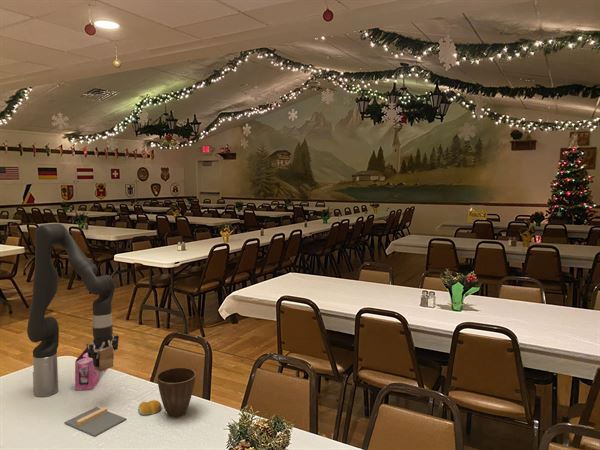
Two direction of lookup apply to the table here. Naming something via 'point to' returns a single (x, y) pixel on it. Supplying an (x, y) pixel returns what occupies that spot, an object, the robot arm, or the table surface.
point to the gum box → (86, 372)
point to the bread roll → (149, 407)
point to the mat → (95, 421)
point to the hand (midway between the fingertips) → (103, 363)
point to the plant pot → (176, 390)
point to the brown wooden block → (105, 359)
